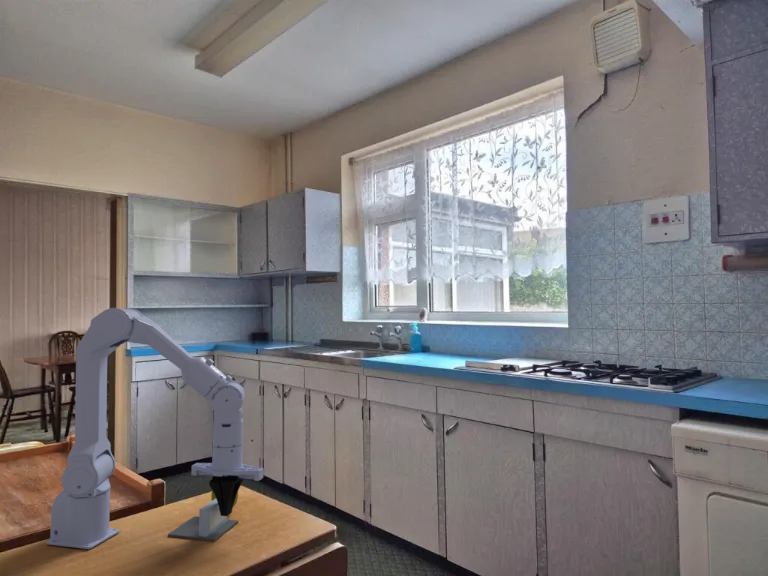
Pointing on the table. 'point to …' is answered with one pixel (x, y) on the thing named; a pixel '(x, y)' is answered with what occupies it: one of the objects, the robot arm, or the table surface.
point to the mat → (192, 530)
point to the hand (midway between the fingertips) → (226, 514)
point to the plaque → (210, 518)
